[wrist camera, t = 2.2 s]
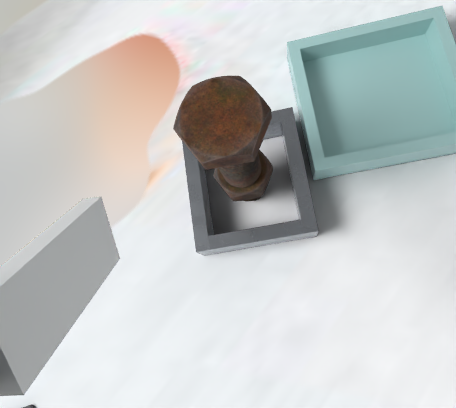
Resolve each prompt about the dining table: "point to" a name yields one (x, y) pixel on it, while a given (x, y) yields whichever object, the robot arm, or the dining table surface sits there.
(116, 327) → the dining table surface
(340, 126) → the tray
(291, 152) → the square frame
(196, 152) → the bolt
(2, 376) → the robot arm
